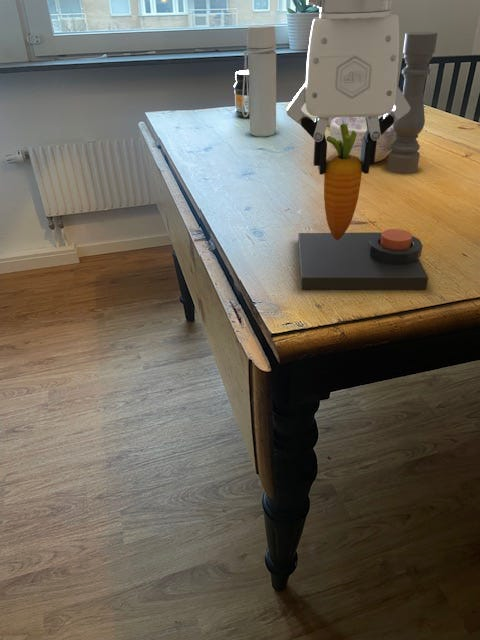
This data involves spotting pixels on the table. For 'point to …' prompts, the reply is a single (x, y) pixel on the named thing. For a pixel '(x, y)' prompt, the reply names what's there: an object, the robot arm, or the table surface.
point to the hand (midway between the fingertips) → (342, 169)
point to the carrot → (341, 184)
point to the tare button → (396, 239)
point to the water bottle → (261, 80)
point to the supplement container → (239, 92)
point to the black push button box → (358, 263)
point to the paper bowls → (360, 128)
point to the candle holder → (412, 102)
